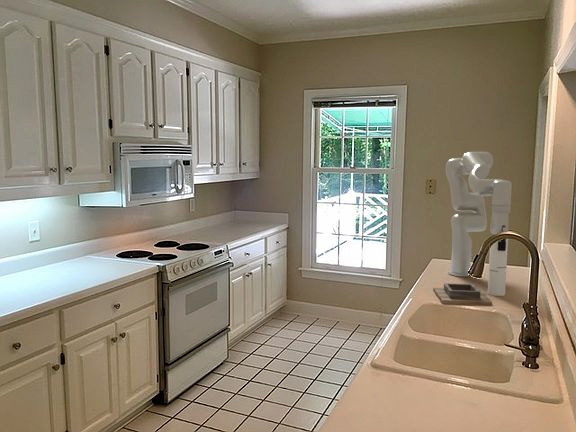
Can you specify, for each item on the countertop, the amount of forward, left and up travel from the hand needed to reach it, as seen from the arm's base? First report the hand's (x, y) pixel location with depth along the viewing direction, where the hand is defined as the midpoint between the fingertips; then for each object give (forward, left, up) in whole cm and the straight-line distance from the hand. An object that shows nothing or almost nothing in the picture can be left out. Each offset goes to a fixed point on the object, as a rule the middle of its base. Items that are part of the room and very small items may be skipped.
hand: (498, 248), depth 218 cm
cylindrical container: (0, 0, -20) cm, 20 cm away
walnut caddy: (+8, -17, -20) cm, 28 cm away
